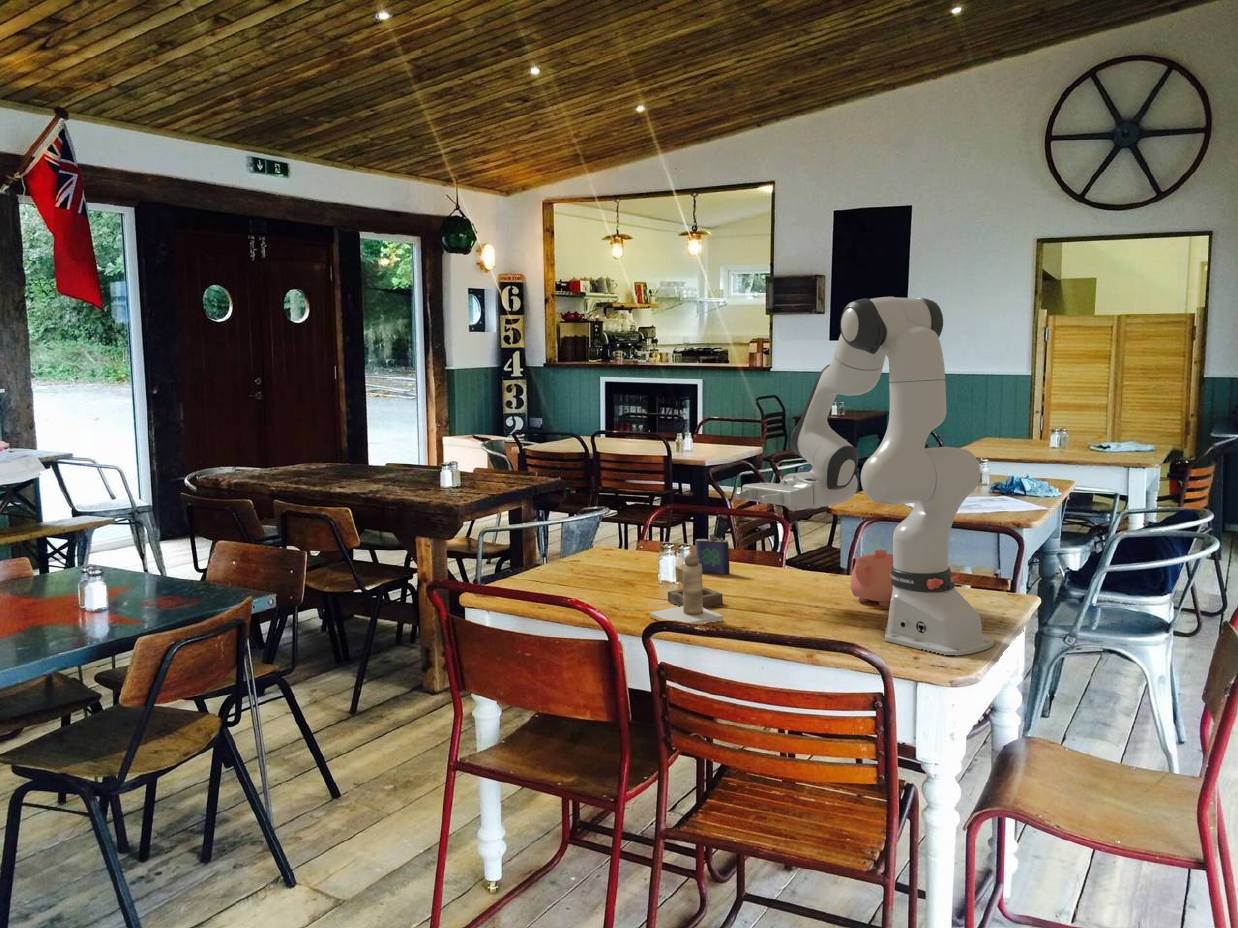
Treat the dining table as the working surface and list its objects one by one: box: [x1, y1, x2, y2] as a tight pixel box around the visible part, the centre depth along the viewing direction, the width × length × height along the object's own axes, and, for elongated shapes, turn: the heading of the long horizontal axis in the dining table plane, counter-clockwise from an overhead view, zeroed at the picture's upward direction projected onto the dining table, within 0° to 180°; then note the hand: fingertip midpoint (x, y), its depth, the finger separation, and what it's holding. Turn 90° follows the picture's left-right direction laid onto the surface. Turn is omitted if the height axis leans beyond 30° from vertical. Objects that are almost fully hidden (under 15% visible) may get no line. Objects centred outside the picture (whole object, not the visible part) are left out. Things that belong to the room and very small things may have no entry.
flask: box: [694, 532, 731, 576], centre depth 274 cm, size 9×3×11 cm, turn 65°
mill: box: [681, 553, 703, 615], centre depth 233 cm, size 4×4×14 cm
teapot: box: [850, 549, 893, 608], centre depth 242 cm, size 20×12×12 cm, turn 131°
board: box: [648, 606, 724, 624], centre depth 233 cm, size 12×12×1 cm
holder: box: [667, 585, 724, 609], centre depth 246 cm, size 9×9×2 cm
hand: (749, 497), depth 238 cm, fingers open, 8 cm apart
